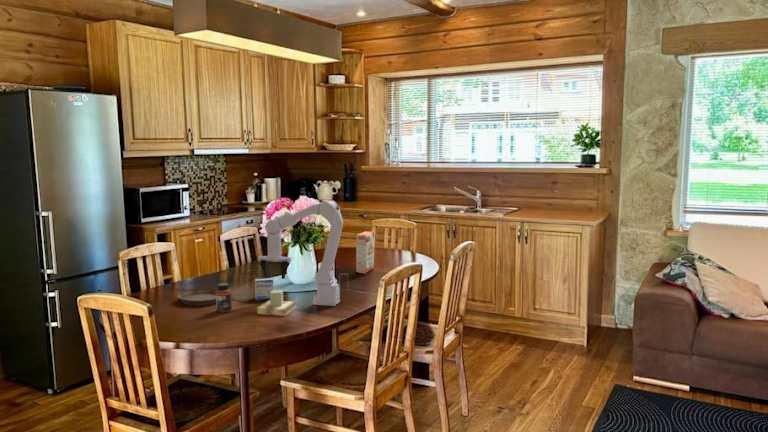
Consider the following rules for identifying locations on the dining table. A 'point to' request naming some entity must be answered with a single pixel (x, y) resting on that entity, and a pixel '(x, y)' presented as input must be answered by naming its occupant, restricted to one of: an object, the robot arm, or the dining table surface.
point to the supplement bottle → (223, 298)
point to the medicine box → (263, 288)
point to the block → (276, 298)
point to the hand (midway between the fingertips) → (275, 278)
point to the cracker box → (364, 252)
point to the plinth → (276, 308)
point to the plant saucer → (198, 296)
